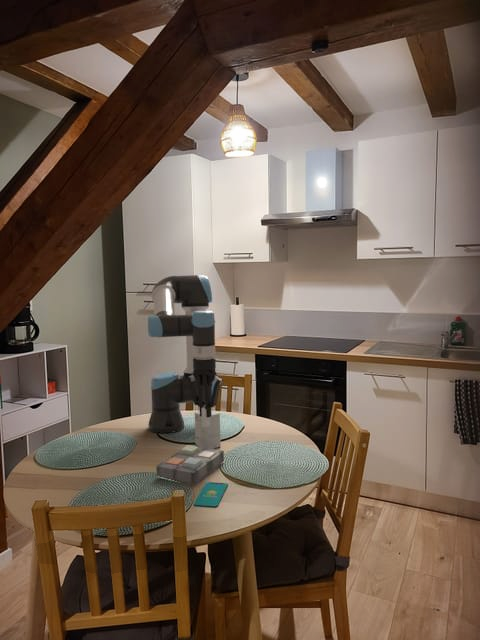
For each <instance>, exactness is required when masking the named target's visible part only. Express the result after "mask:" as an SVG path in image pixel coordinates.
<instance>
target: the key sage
mask: <svg viewBox="0 0 480 640" xmlns="http://www.w3.org/2000/svg"><path fill="white" fill-rule="evenodd" d="M180 451H181V454H185V455H191V456H193V455H195V454H196V453H197V452H199V446H197V445H189V444H187V445H185V446H184V447H183V448H181V449H180Z"/></svg>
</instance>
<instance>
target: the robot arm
mask: <svg viewBox="0 0 480 640" xmlns="http://www.w3.org/2000/svg"><path fill="white" fill-rule="evenodd" d="M212 295H213V292H212V287H211V283H210V279H209V277H208V276H206V275H202V274H199V275H198V274H197V275H194V274H192V275H169V276H167V277H165V278H163V279H161V280H159V281H157V283H156V284H155V285H154V286H153V288H152V291H151V300H152V301H153V315H150V316H148V317H147V332H148V334H147V335H148V336H149V337H150V338H158V339H160V338H173V337H185V342H186V343H185V345H186V346H185V347H186V368H185V369H183V375H180V374H179V373H178V372H177V371H169V372H162V373H159V374H157V375H154V376H153V377H152V378H151V386H150V390H151V413H150V417H149V420H148V431H150V432H152V433H156V434H167V433H166V432H172V433H174V432H173V431H176V432H178V431H177V430H179V431H181V430H180V429H182V428H183V427H184V428H185V421H184V417H183V415H182V412H181V408H180V404H188V403H193V404H194V406H198V408H199V411H200V416H201V417H202V427H207V426H209V425H210V417H211V415H212V411H213V410H212V408H213V407H215V406H217V404H218V399H219V396H220V395H219V394H220V391H221V385H222V384H223V382H224V379H223V378H220V377H219V376H218V374H217V372H216V368H217V367H216V364H217V363H216V362H217V361H216V358H215V357H216V336H215V335H216V331H215V330H216V320H215V313H214V311H212V310H208V308H209V307H210V305H209V304H210V303H213V296H212ZM175 304H180V305H181V309H183V311H184V312H185V313H184V314H175ZM184 428H183V429H184ZM183 429H182V430H183ZM158 432H160V433H158Z"/></svg>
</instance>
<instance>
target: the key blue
mask: <svg viewBox="0 0 480 640" xmlns="http://www.w3.org/2000/svg"><path fill="white" fill-rule="evenodd" d="M201 465H202V459H198V458H192V457H190V458H188V459H187V460H185V461H184V462H183V467H187V468H192V469H196V468H198V467H199V466H201Z"/></svg>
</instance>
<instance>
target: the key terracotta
mask: <svg viewBox="0 0 480 640" xmlns="http://www.w3.org/2000/svg"><path fill="white" fill-rule="evenodd" d="M184 461H185V459H180V458H174V457H173V458H172V459H170V460H169V461H167V462H166V464H170V465H176V466H178V465H180V464H181V463H183V462H184Z"/></svg>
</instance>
